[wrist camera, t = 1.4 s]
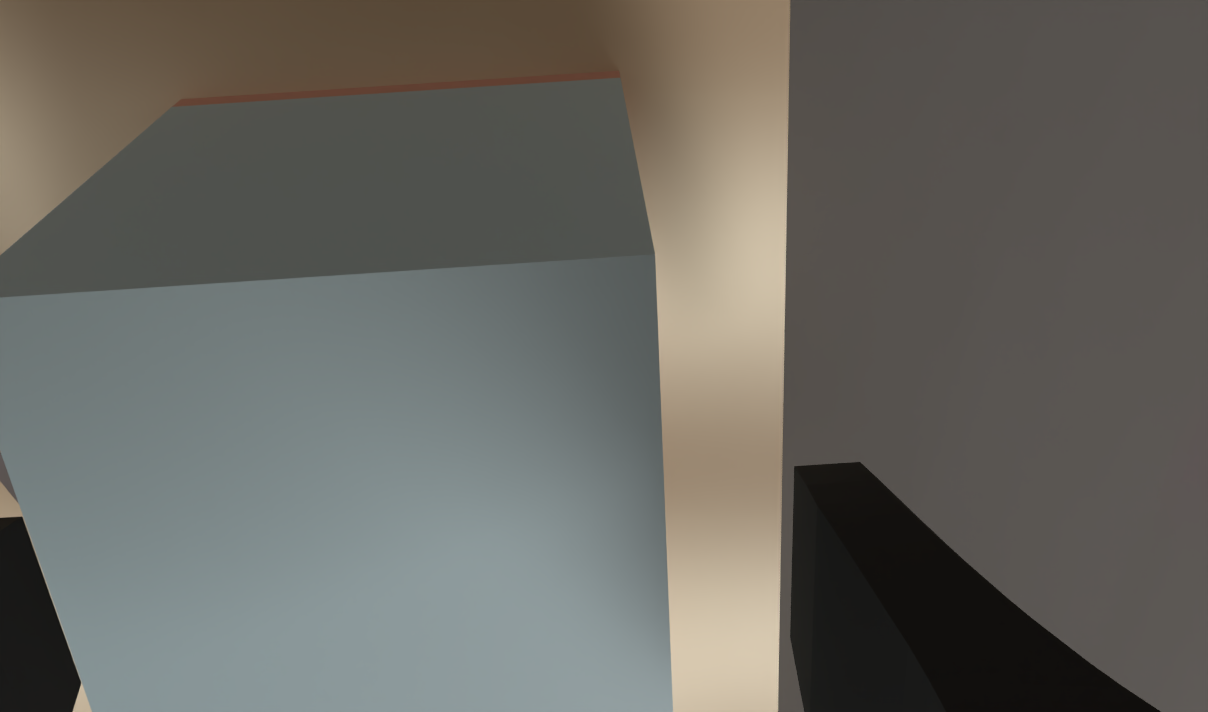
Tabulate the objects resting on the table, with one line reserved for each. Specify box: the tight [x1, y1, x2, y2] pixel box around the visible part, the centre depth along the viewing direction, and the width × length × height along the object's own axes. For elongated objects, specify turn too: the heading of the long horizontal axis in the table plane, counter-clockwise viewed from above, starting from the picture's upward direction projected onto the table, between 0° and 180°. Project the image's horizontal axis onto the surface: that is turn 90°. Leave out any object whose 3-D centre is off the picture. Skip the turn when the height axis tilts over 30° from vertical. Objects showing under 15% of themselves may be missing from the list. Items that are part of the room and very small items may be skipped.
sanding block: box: [0, 71, 673, 712], centre depth 11 cm, size 8×4×5 cm, turn 3°
